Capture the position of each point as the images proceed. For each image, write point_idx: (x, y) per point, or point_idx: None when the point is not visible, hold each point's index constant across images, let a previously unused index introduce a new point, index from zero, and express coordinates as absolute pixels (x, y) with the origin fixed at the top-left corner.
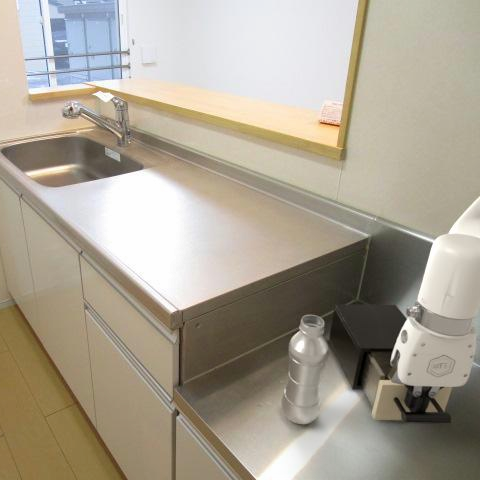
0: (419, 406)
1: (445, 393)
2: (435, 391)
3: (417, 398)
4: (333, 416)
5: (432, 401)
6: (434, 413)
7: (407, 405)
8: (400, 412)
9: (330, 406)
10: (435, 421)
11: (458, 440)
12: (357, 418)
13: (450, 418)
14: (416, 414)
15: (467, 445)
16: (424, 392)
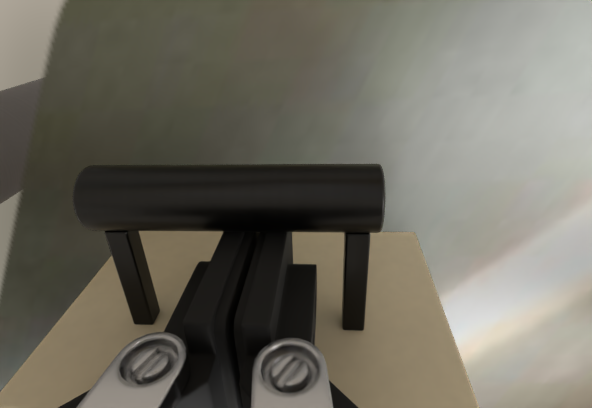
0: (265, 263)
1: (60, 350)
2: (115, 389)
3: (275, 322)
4: (559, 252)
5: (150, 304)
6: (172, 217)
7: (316, 278)
8: (307, 257)
9: (539, 295)
10: (182, 166)
11: (91, 147)
12: (461, 243)
13: (78, 183)
14: (301, 207)
15: (61, 123)
16: (211, 374)
